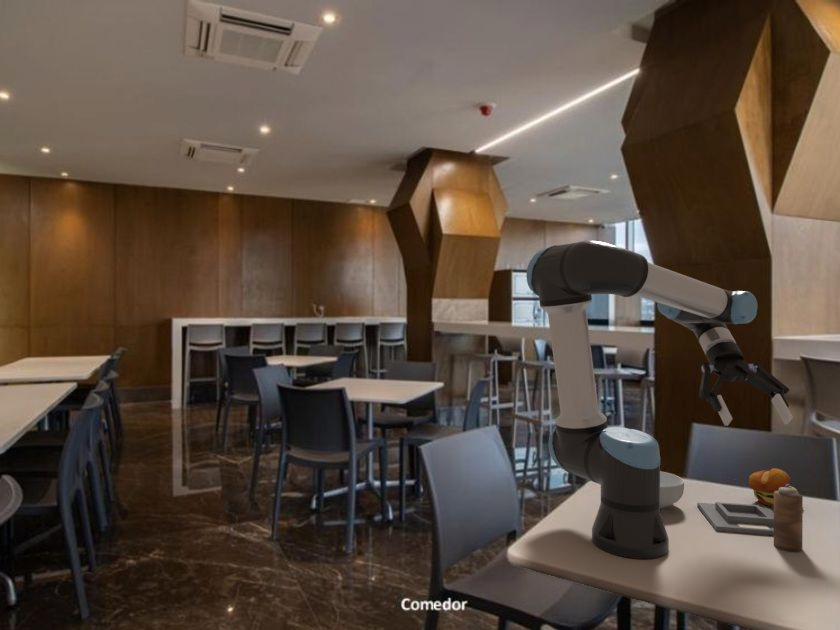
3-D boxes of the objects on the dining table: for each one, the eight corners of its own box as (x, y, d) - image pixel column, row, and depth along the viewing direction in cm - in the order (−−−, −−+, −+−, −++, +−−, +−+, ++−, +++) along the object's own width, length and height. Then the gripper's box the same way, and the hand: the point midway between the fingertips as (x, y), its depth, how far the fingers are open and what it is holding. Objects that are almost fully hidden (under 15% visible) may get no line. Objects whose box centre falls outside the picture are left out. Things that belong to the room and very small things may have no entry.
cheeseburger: (812, 511, 135) (801, 472, 136) (765, 519, 137) (755, 480, 138) (792, 497, 145) (782, 460, 146) (749, 504, 147) (739, 468, 148)
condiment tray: (716, 530, 124) (716, 519, 124) (697, 506, 139) (697, 496, 139) (796, 537, 120) (796, 525, 120) (768, 511, 136) (768, 501, 136)
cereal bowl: (672, 495, 148) (672, 469, 148) (693, 518, 131) (693, 488, 131) (606, 492, 150) (606, 466, 150) (619, 514, 134) (619, 485, 134)
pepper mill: (779, 550, 113) (779, 492, 113) (769, 541, 118) (769, 485, 118) (806, 553, 112) (807, 494, 112) (796, 543, 117) (796, 486, 117)
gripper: (763, 358, 142) (805, 429, 127) (667, 360, 142) (697, 431, 127) (777, 338, 136) (822, 410, 121) (676, 341, 136) (709, 413, 121)
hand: (758, 421), depth 124 cm, fingers open, 13 cm apart
